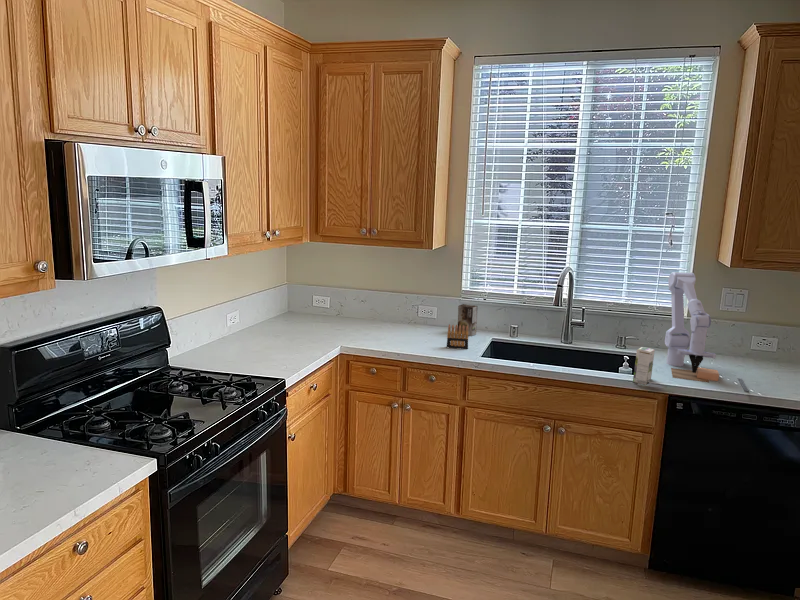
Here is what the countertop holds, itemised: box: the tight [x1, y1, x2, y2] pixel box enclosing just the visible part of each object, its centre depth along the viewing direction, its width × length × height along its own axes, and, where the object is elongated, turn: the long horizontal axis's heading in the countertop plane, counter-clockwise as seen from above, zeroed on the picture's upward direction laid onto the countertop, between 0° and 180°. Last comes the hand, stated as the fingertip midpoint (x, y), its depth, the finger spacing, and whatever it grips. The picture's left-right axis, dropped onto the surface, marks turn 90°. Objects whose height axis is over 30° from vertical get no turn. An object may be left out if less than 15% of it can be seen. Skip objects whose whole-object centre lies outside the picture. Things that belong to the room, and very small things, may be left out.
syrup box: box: [632, 346, 656, 386], centre depth 244 cm, size 6×6×14 cm
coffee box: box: [457, 303, 478, 337], centre depth 319 cm, size 9×6×16 cm
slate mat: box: [737, 377, 750, 393], centre depth 248 cm, size 18×14×1 cm
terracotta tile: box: [696, 366, 720, 382], centre depth 250 cm, size 7×8×3 cm
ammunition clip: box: [446, 324, 469, 350], centre depth 290 cm, size 11×2×12 cm, turn 82°
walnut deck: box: [670, 367, 710, 384], centre depth 253 cm, size 16×14×2 cm
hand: (694, 372), depth 252 cm, fingers closed
